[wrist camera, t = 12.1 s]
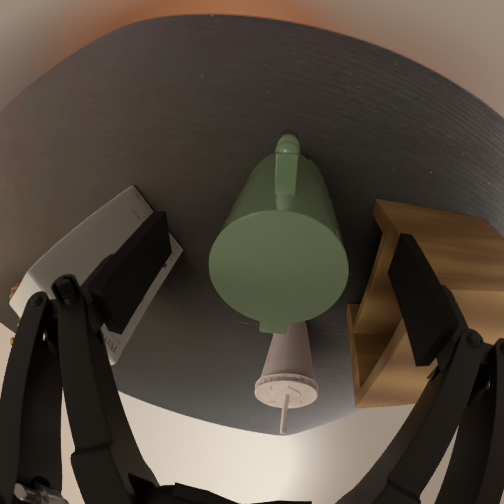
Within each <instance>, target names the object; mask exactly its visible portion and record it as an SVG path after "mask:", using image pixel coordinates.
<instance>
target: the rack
mask: <svg viewBox="0 0 504 504" xmlns="http://www.w3.org/2000/svg"><path fill="white" fill-rule="evenodd" d="M373 216H374V218H375V220H376V222H377V223H378V225H379V227H380V229H381V231H382V233H383V234H382V238H381V242H380V245H379V249H378V252H377V256H376V259H375V262H374V266H373V269H372V272H371V275H370V278H369V281H368V284H367V287H366V290H365V293H364V296H363V299H362V302H361V304H353V303H349V304H348V306H347V309H346V312H345V314H346V321H347V328H348V336H349V344H350V352H351V362H352V372H353V383H354V396H355V408H369V407H385V406H397V405H407V404H415V403H417V401H418V399H419V397H420V396H421V394H422V392H423V390H424V388H425V386H426V384H427V382H428V381H429V379H430V378H429V379H427V377H428V376H429V374H430V373H431V372H432V371H433V370H434V369H435V367H436V366H437V365H438V363H437V359H436V358H435V360H434V361H433V362H432V363H431V365H430V366H421V367H416V365H415V361H414V357H413V353H412V349H411V345H410V341H409V338H408V334H407V331H406V327H405V324H404V321H403V317H402V314H401V311H400V308H399V305H398V302H397V299H396V296H395V293H394V290H393V287H392V284H391V282H390V279H389V276H388V273H387V272H388V270H389V267H390V264H391V261H392V258H393V255H394V252H395V249H396V246H397V243H398V240H399V237H400V233H405V234H412V235H413V237H414V238H415V240H416V241H417V243H418V245H419V246H420V248H421V250H422V251H423V253H424V255H425V256H426V258H427V260H428V262H429V263H430V265H431V267H432V269H433V271H434V272H435V274H436V276H437V278H438V280H439V282H440V284H441V285H446V286H447V288H448V289H449V290H450V291H451V292H452V294H453V296H454V297H455V299H456V300H455V301H457V303H458V306H459V308H460V310H461V312H462V314H463V316H464V318H465V320H466V322H467V325H468V327H469V328H470V329H474V330H476V331H477V332H478V333H479V334H480V335H481V336H482V338H483V341H484V342H485V343H489V344H492V345H494V344H495V342H496V341H497V340H498V339H499V338H504V238H503V237H502V236H501V235H500V234H499V233H498V232H497V231H496V230H495V229H494V228H493V227H492V226H491V225H490V224H489V223H488V222H487V221H486V220H485V219H480V218H476V217H472V216H467V215H463V214H458V213H454V212H449V211H444V210H439V209H434V208H429V207H423V206H418V205H412V204H406V203H400V202H394V201H388V200H381V199H376V201H375V206H374V210H373Z"/></svg>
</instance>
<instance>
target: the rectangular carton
mask: <svg viewBox="0 0 504 504" xmlns="http://www.w3.org/2000/svg"><path fill="white" fill-rule="evenodd" d="M152 213H153V210H152V209H151V208H150V206H149V205H148V204H147V202H146V201H145V200H144V198H143V197H142V196H141V194H140V193H139V192H138V190H137V189H136V188H135V186H134V185H131V186H130V187H129V188H127V189H126V190H124V191H123V192H122V193H120V194H119V195H117V196H116V197H115V198H113V199H112V200H110V201H109V202H108V203H106V204H105V205H104V206H102V207H101V208H100V209H98V210H97V211H96V212H94V213H93V214H92V215H91V216H89V217H88V218H87V219H85V220H84V221H83V222H82V223H80V224H79V225H78V226H77V227H75V228H74V229H73V230H72V231H71V232H69V233H68V234H67V235H66V236H65V237H63V238H62V239H61V240H60V241H59V242H58V243H56V244H55V245H54V246H53V247H52V248H51V249H50V250H49V251H47V252H46V253H45V254H44V255H43V256H42V257H41V258H40V259H39V260H38V261H37V262H36V263H35V264H34V265H33V266H32V267H31V268H30V269H29V270H28V271H27V273H26V275H25V277H24V278H23V280H22V282H21V284H20V286H19V287H18V289H17V291H16V292H15V294H14V295H13V297H12V299H11V300H10V306H11V307H12V308H13V309H14V311H15V312H16V313H17V314H18V315H19V317H20V318H21V317H22V314H23V311H24V308H25V306H26V303H27V301H28V299H29V298H30V297H31V296H32V295H33V294H35V293H36V292H39V291H44V292H46V293H47V295H48V297H49V299H56V298H55V296H54V294H53V292H52V290H51V285H52V283H53V282H54V281H55V280H56V279H57V278H58V277H60V276H62V275H65V274H73V275H74V276H75V277H76V279H77V281H78V284H79V286H81V285H82V284H83V282H84V281H85V280H86V279H87V278H88V276H89V275H90V274H91V273H92V272H93V270H94V269H95V268H96V267H98V265H99V263H100V262H101V261H102V260H103V259H104V258H106V257H107V256H109V255H110V254H115V253H116V251H117V250H118V249H119V248H120V247H121V246H122V245H123V244H124V243H125V241H126V240H127V239H128V238H129V237H130V236H131V235H132V234H133V233H134V232H135V231H136V229H137V228H138V227H139V226H140V225H141V224H142V223H143V222H144V221H145V220H146V219H147V218H148V217H149V216H150V215H151V214H152ZM169 237H170V243H171V248H172V254H171V255H170V257H169V258H168V260H167V261H166V263H165V264H164V266H163V267H162V269H161V270H160V272H159V274H158V275H157V277H156V278H155V280H154V281H153V283H152V285H151V286H150V288H149V290H148V291H147V293H146V294H145V296H144V298H143V299H142V301H141V303H140V304H139V306H138V308H137V309H136V311H135V313H134V314H133V316H132V318H131V319H130V321H129V323H128V325H127V326H126V328H125V330H124V332H123V333H122V335H120V334H117V333H113V332H110V331H108V329H107V327H106V325H105V323H104V324H103V325H102V327H101V330H102V332H103V335H104V340H105V345H106V349H107V353H108V357H109V361H110V365H114V364H116V362H117V361H118V359H119V357H120V355H121V353H122V351H123V349H124V348H125V346H126V344H127V342H128V340H129V339H130V337H131V335H132V333H133V331H134V330H135V328H136V326H137V325H138V323H139V321H140V319H141V317H142V316H143V314H144V312H145V311H146V309H147V307H148V306H149V304H150V302H151V301H152V299H153V297H154V296H155V294H156V293H157V291H158V289H159V288H160V286H161V285H162V283H163V281H164V280H165V278H166V277H167V275H168V273H169V272H170V270H171V269H172V267H173V266H174V264H175V262H176V261H177V259H178V258H179V256H180V255H181V253H182V252H183V249H182V248H181V246H180V245H179V244H178V243H177V241H176V240H175V239H174V237H173V236H172V235H171V234H170V232H169ZM44 338H45V335H44V336H43V339H44Z"/></svg>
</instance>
